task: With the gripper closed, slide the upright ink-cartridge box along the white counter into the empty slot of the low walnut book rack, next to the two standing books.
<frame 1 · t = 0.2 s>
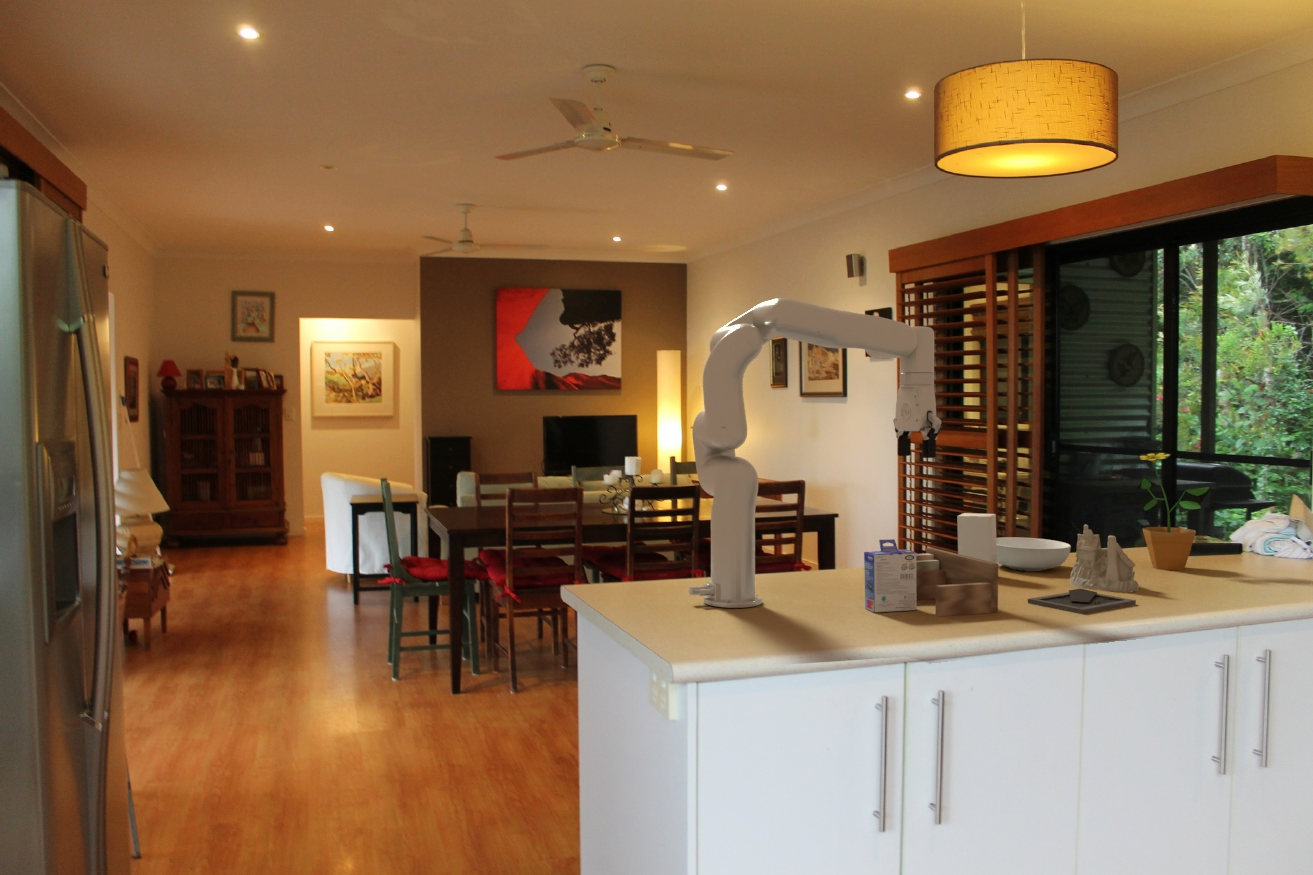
hand: (916, 456, 224), 31 cm above the table, tool pointing down, fingers open, 9 cm apart
ink cartridge box: (890, 610, 206), on the table
book rack: (940, 605, 209), on the table
skincare box: (977, 577, 246), on the table
potted plant: (1168, 568, 257), on the table
ceramic cottage: (1105, 586, 234), on the table
serving bowl: (1027, 569, 258), on the table
picture frame: (1081, 607, 211), on the table
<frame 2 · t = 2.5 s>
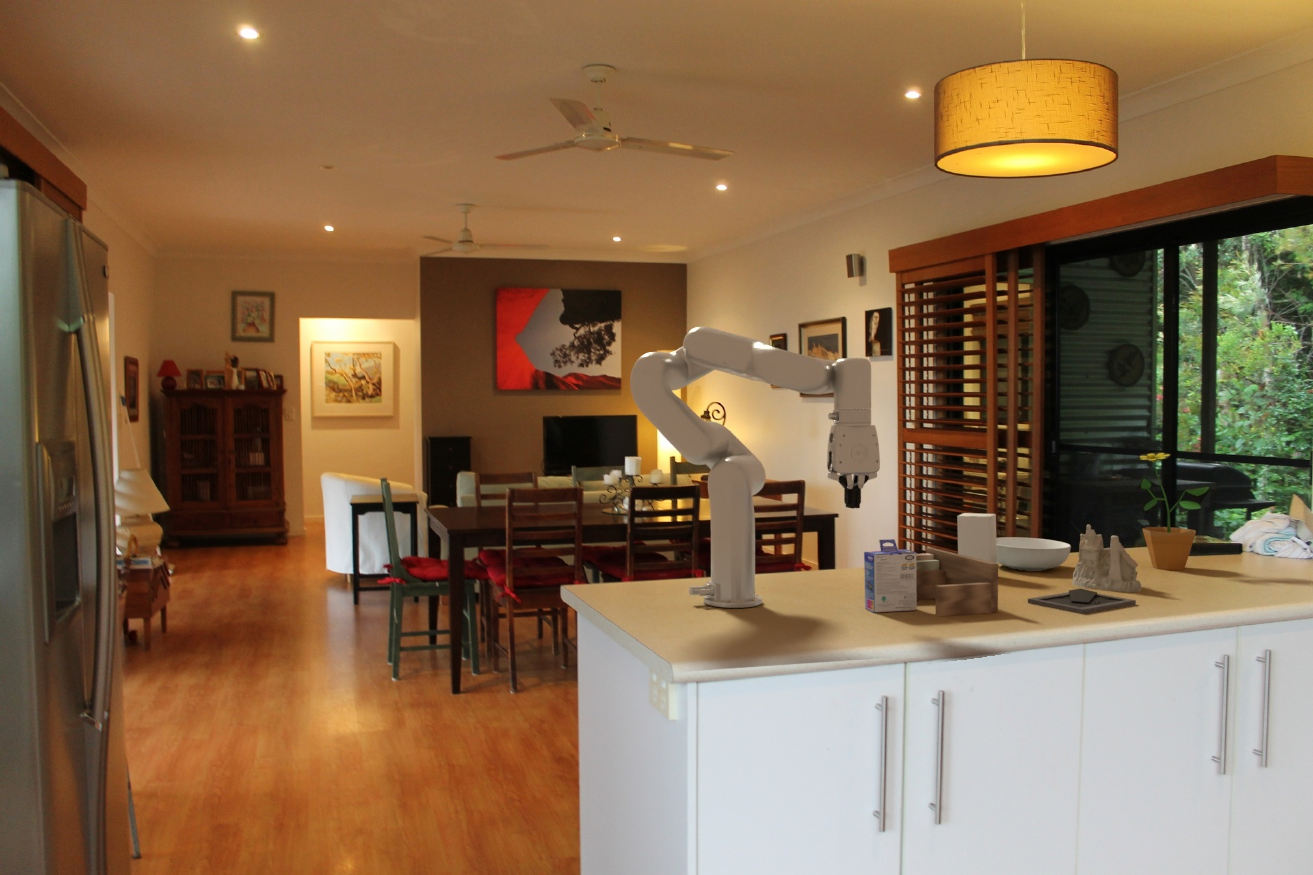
hand: (852, 507, 203), 22 cm above the table, tool pointing down, fingers closed
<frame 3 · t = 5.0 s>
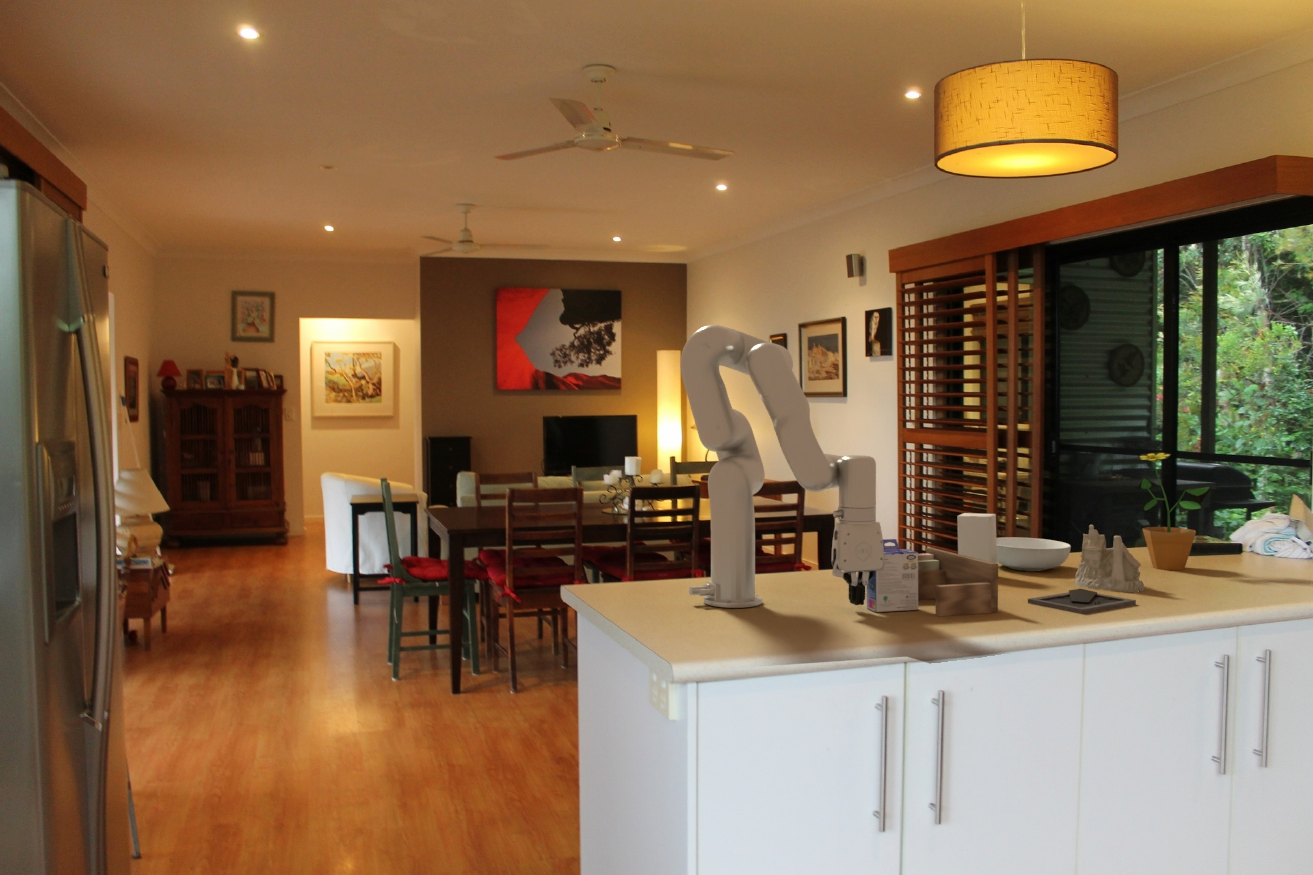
hand: (856, 603, 204), 2 cm above the table, tool pointing down, fingers closed
ink cartridge box: (891, 610, 206), on the table, touching gripper
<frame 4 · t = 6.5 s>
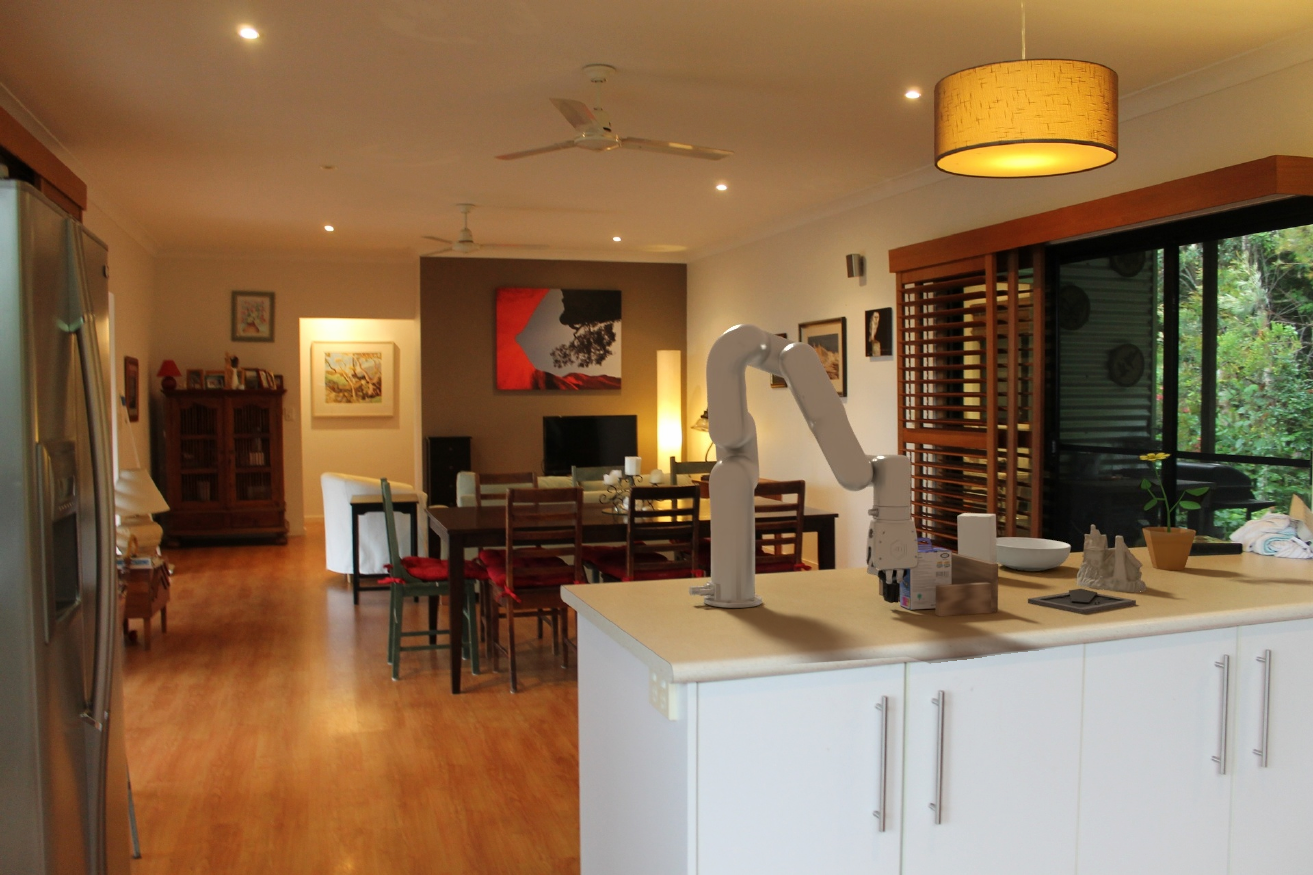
hand: (891, 601, 206), 2 cm above the table, tool pointing down, fingers closed
ink cartridge box: (925, 607, 208), on the table, touching gripper
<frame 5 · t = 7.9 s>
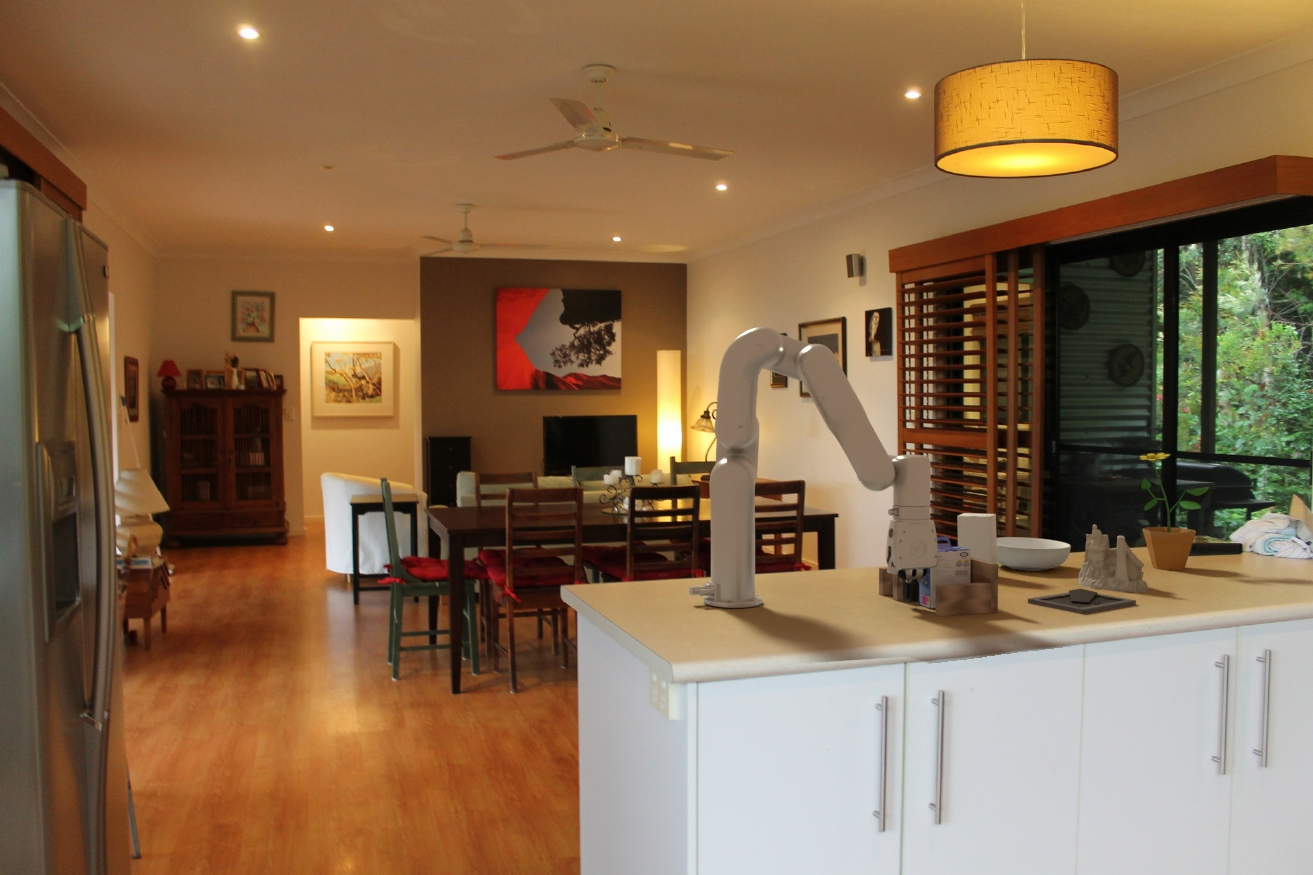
hand: (910, 600, 207), 2 cm above the table, tool pointing down, fingers closed
ink cartridge box: (944, 606, 210), on the table, touching book rack, gripper
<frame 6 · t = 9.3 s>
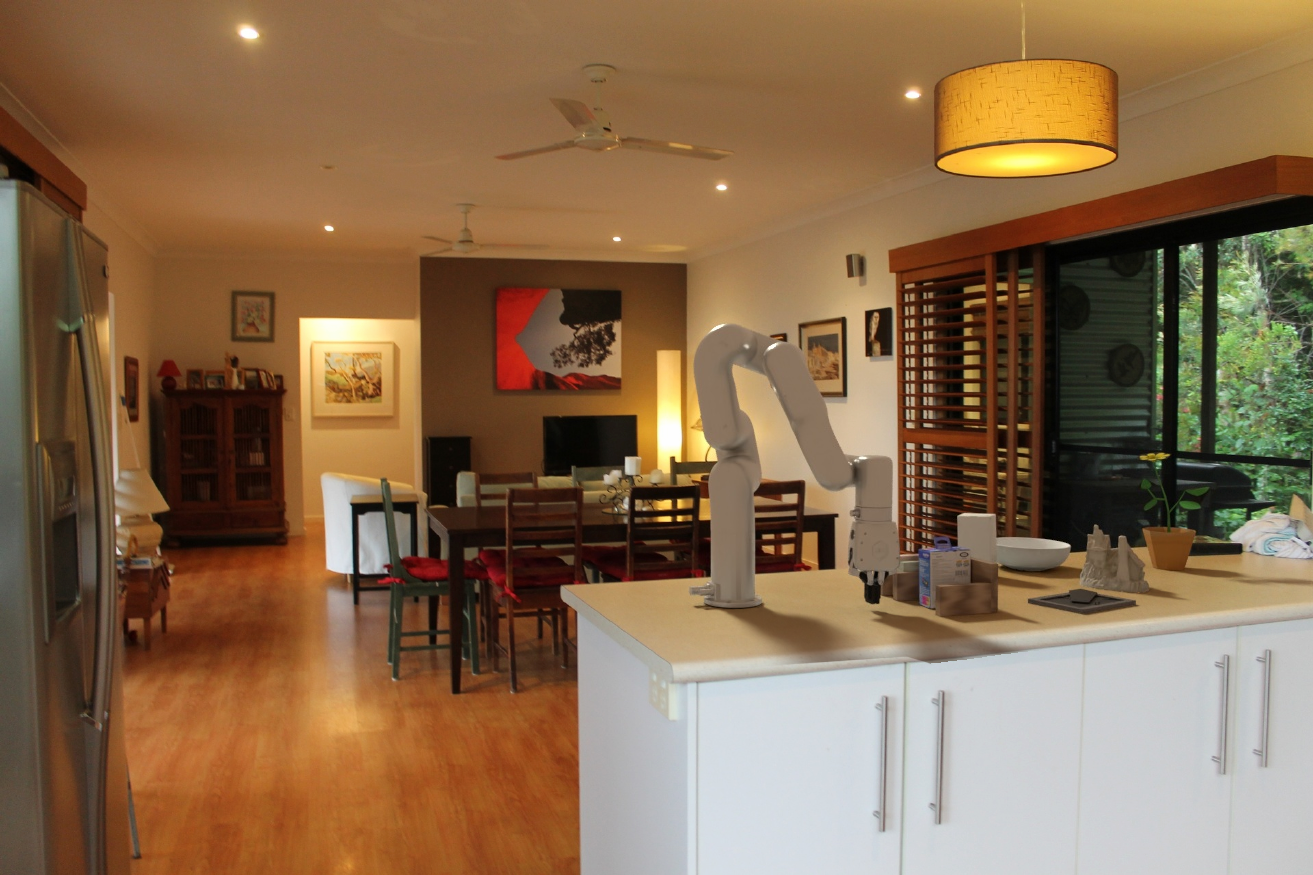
hand: (872, 602, 205), 2 cm above the table, tool pointing down, fingers closed
ink cartridge box: (944, 606, 210), on the table
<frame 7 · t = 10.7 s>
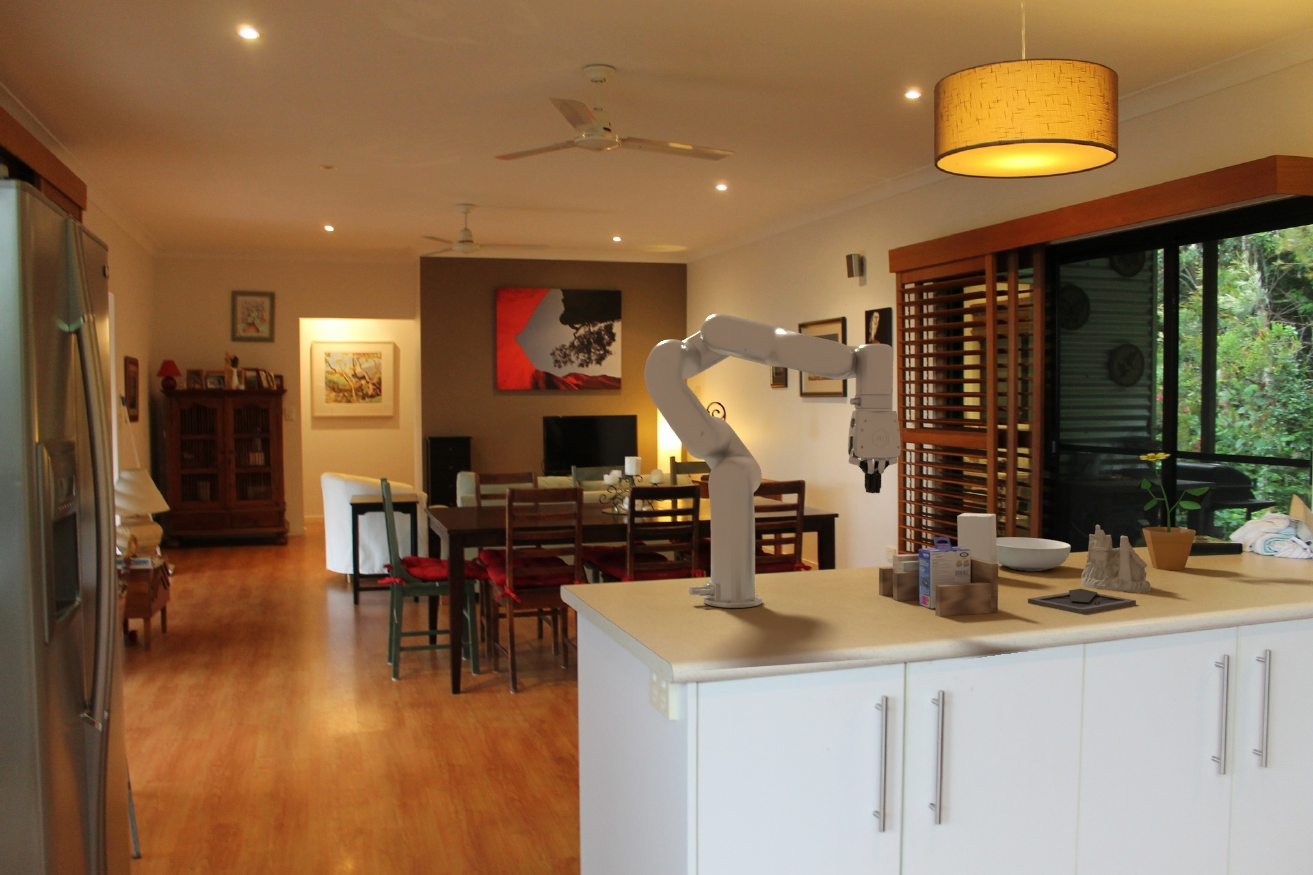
hand: (872, 492, 204), 25 cm above the table, tool pointing down, fingers closed
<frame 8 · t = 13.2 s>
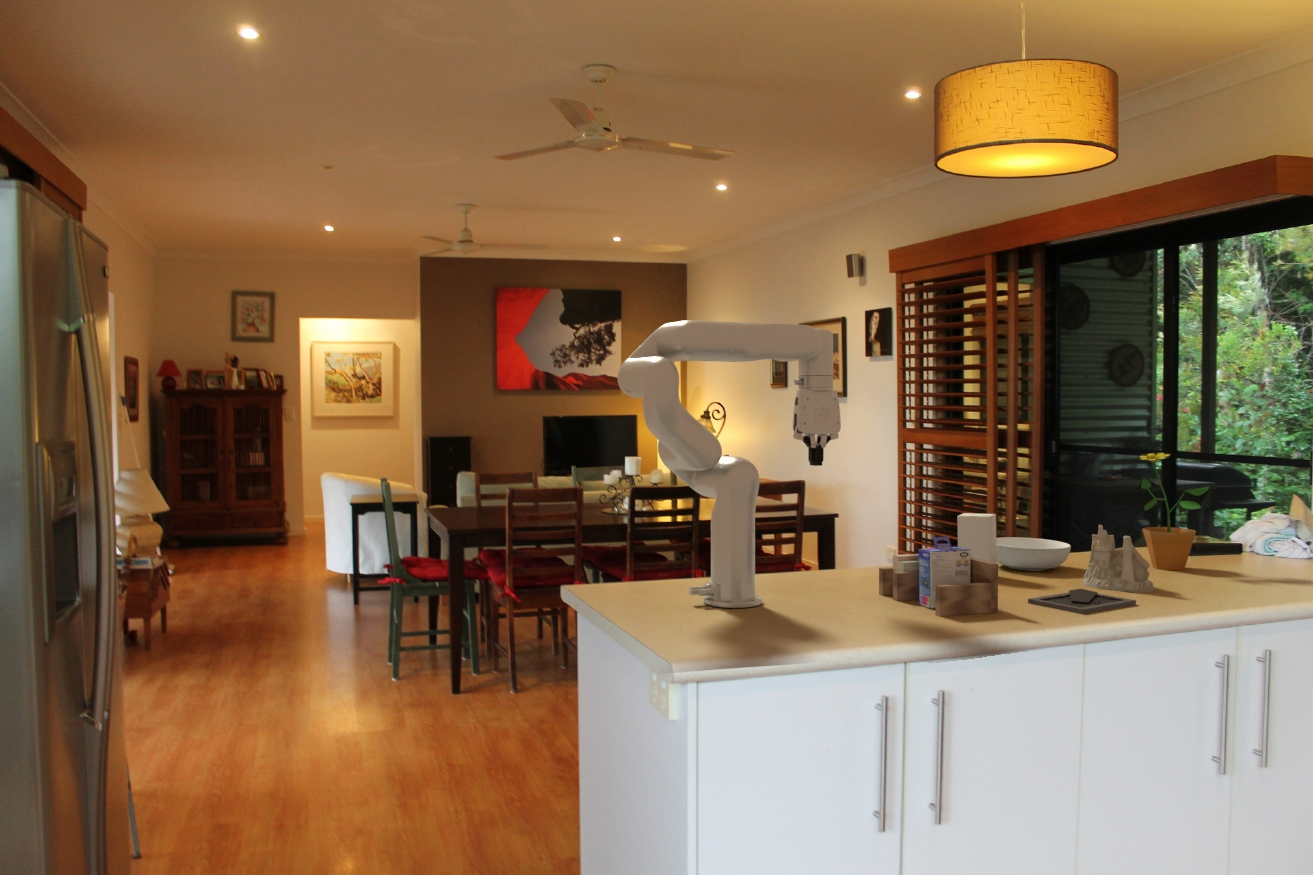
hand: (815, 465, 223), 29 cm above the table, tool pointing down, fingers closed
at the end: ink cartridge box inside the target area on the book rack (0.9 cm from its centre), point 0.0 cm above the book rack's base; ink cartridge box tilted 0°; ink cartridge box moved 13.1 cm from its start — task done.
